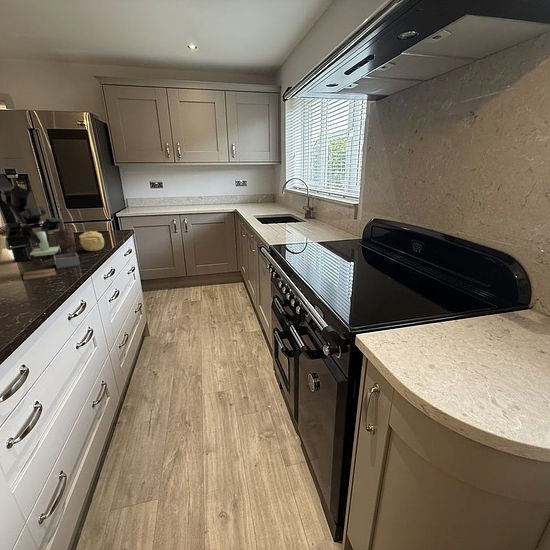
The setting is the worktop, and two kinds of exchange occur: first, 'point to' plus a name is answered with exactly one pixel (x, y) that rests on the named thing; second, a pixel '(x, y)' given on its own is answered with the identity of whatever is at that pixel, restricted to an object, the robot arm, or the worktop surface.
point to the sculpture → (92, 241)
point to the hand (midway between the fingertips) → (44, 241)
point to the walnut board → (39, 274)
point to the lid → (43, 246)
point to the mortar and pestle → (64, 238)
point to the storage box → (66, 260)
